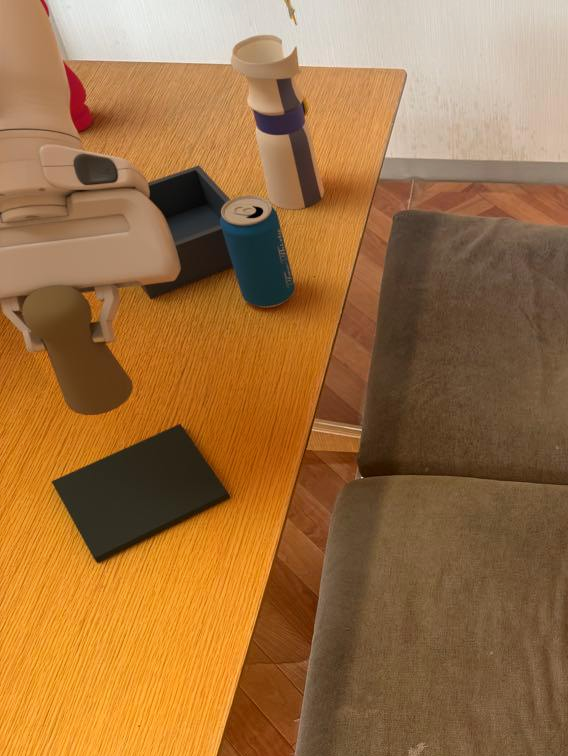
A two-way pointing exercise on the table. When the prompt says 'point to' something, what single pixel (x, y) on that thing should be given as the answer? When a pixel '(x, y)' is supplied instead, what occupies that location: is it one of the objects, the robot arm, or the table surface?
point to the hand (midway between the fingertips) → (73, 347)
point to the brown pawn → (76, 350)
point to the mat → (139, 491)
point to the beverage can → (257, 250)
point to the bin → (191, 226)
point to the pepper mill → (76, 96)
